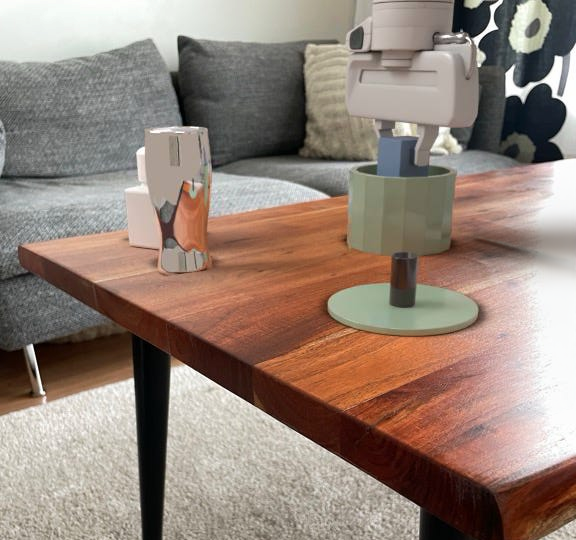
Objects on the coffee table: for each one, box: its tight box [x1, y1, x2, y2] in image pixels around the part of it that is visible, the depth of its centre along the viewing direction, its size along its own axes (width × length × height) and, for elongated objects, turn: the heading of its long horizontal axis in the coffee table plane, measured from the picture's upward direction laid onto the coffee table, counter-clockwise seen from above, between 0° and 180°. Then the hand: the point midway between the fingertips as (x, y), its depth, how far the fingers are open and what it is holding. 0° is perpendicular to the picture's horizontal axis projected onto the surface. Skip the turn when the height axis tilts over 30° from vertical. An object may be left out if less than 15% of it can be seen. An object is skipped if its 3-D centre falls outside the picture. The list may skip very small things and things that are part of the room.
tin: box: [346, 162, 458, 257], centre depth 88 cm, size 13×13×10 cm
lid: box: [327, 252, 479, 337], centre depth 65 cm, size 14×14×6 cm
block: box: [376, 135, 431, 177], centre depth 86 cm, size 4×4×4 cm
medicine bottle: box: [123, 145, 159, 250], centre depth 90 cm, size 7×7×12 cm
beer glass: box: [143, 125, 213, 277], centre depth 78 cm, size 7×7×15 cm
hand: (403, 162), depth 86 cm, fingers closed on block, 4 cm apart
